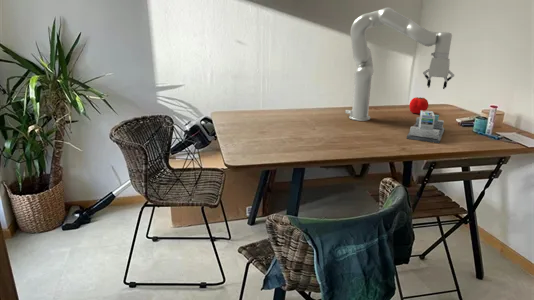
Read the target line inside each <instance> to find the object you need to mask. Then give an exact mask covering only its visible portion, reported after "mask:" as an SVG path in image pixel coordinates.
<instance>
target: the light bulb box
mask: <svg viewBox="0 0 534 300" xmlns="http://www.w3.org/2000/svg"><path fill="white" fill-rule="evenodd" d="M435 115H436V114H435V113H434V111H432V110H426V111H423V110H421V111H420V114H419V117H420V119H419V127H421V128H428V129H433V127H434V121H435Z"/></svg>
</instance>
